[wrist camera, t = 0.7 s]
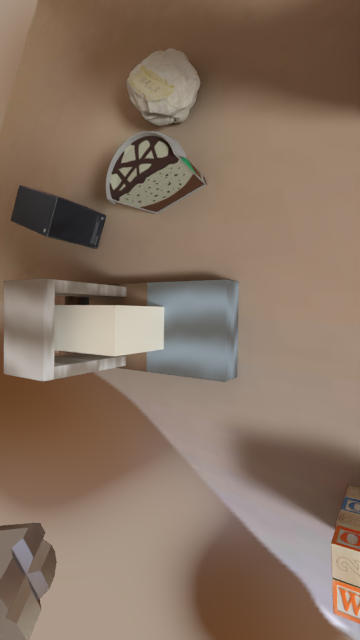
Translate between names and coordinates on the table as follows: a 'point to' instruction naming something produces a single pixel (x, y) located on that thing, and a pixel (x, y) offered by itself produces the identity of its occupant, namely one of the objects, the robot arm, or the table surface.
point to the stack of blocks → (347, 557)
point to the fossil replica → (164, 87)
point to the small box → (57, 217)
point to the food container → (151, 173)
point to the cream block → (108, 329)
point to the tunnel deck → (176, 297)
